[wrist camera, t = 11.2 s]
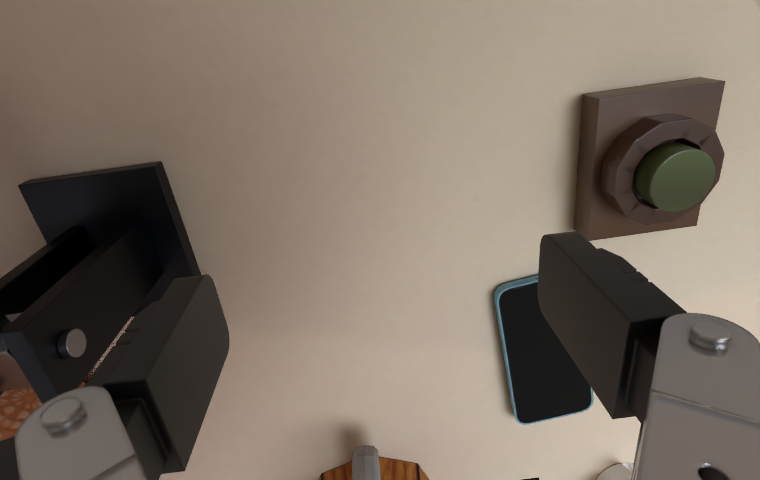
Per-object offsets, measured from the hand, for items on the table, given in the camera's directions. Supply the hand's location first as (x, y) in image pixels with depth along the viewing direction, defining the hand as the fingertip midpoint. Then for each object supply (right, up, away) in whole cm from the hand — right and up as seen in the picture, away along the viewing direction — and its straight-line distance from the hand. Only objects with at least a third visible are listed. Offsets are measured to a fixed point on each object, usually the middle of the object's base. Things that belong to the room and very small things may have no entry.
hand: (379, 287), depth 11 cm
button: (+18, +5, +18) cm, 26 cm away
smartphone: (+14, -8, +28) cm, 33 cm away
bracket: (-18, +1, +22) cm, 28 cm away
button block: (+18, +7, +21) cm, 29 cm away
